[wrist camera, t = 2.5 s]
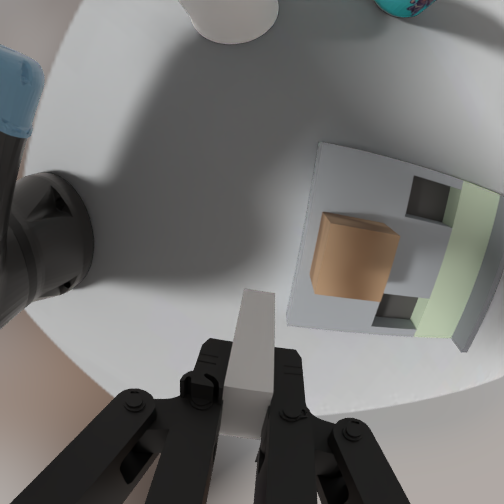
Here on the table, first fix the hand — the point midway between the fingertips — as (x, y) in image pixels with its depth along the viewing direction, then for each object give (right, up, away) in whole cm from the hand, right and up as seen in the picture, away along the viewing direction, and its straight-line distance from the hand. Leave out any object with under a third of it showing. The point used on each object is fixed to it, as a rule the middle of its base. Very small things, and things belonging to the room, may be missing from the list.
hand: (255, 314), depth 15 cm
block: (+9, +3, +12) cm, 15 cm away
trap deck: (+16, +3, +14) cm, 21 cm away
